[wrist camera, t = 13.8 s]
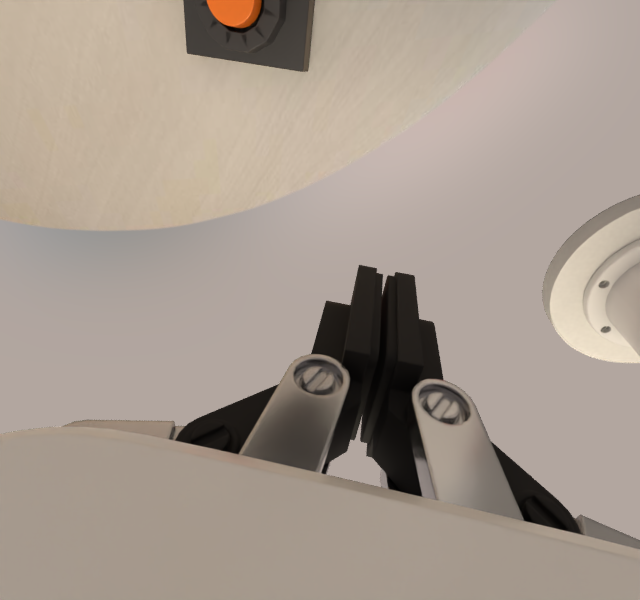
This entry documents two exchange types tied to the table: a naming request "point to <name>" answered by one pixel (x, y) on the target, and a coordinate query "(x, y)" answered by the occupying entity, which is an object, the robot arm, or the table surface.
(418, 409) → the robot arm
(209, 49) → the block
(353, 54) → the table surface
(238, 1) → the button
